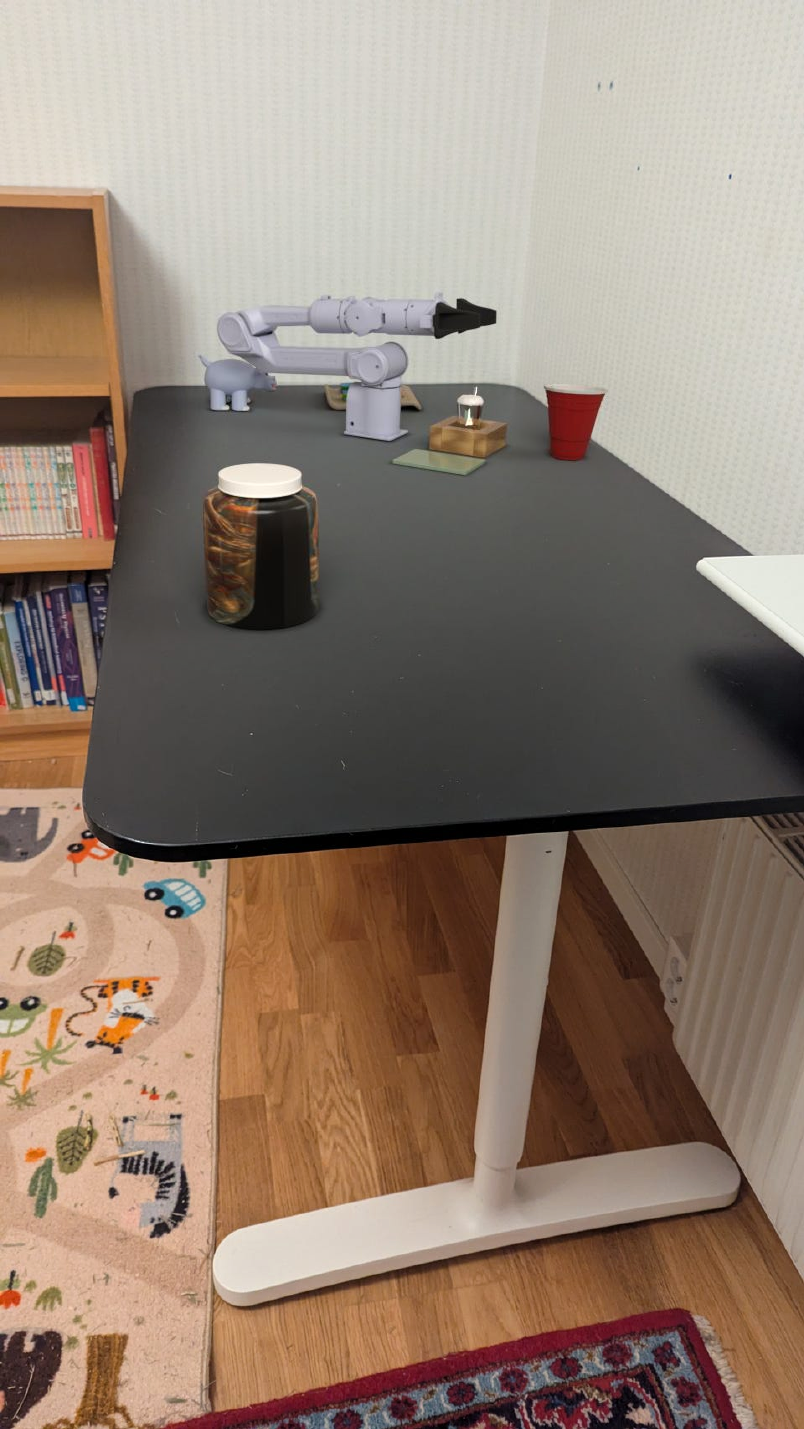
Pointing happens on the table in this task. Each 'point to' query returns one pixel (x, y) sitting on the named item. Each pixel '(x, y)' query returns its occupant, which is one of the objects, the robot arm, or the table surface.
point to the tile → (439, 461)
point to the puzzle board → (339, 396)
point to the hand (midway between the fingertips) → (487, 319)
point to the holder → (467, 437)
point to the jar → (261, 547)
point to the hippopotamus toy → (234, 382)
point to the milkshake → (469, 411)
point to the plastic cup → (572, 418)
